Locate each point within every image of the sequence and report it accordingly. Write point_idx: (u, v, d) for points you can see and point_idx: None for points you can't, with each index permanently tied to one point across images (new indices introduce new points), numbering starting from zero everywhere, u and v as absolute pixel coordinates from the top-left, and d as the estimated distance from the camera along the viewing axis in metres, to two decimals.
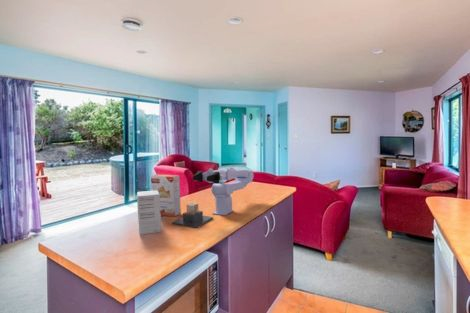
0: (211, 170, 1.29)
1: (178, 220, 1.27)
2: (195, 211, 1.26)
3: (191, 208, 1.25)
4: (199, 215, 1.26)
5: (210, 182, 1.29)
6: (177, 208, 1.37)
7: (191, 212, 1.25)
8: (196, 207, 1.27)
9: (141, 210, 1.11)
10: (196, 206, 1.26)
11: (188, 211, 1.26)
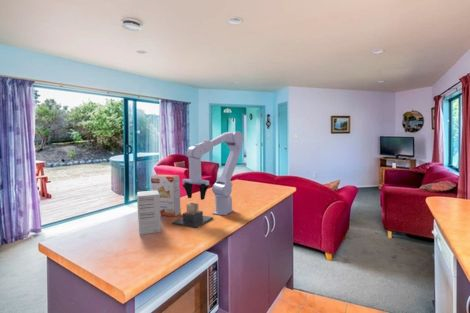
0: (192, 182, 1.26)
1: (178, 220, 1.27)
2: (195, 211, 1.26)
3: (191, 208, 1.25)
4: (199, 215, 1.26)
5: None
6: (177, 208, 1.37)
7: (191, 212, 1.25)
8: (196, 207, 1.27)
9: (141, 210, 1.11)
10: (196, 206, 1.26)
11: (188, 211, 1.26)
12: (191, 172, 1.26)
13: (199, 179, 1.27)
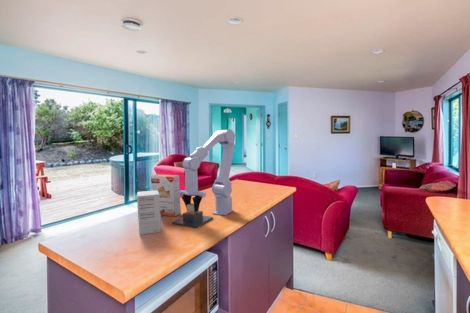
0: (188, 194, 1.23)
1: (178, 220, 1.27)
2: None
3: (191, 208, 1.25)
4: (199, 215, 1.26)
5: None
6: (177, 208, 1.37)
7: (191, 212, 1.25)
8: None
9: (141, 210, 1.11)
10: None
11: (188, 211, 1.26)
12: (187, 184, 1.24)
13: (195, 191, 1.25)
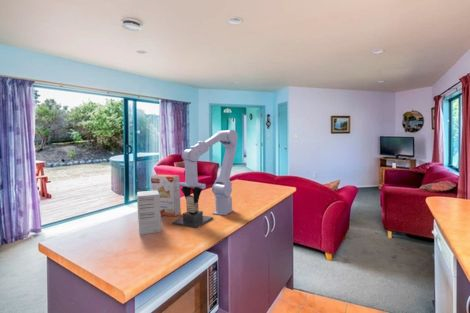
0: (188, 186, 1.23)
1: (178, 220, 1.27)
2: (195, 203, 1.26)
3: (190, 200, 1.25)
4: (199, 215, 1.26)
5: None
6: (177, 208, 1.37)
7: (191, 204, 1.25)
8: None
9: (141, 210, 1.11)
10: None
11: (188, 203, 1.26)
12: (187, 175, 1.23)
13: (195, 182, 1.24)
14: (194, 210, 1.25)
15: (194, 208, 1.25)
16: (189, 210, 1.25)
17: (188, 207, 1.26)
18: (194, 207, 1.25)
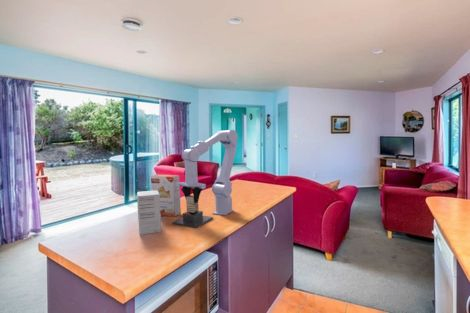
0: (188, 186, 1.23)
1: (178, 220, 1.27)
2: (195, 203, 1.26)
3: (190, 200, 1.25)
4: (199, 215, 1.26)
5: None
6: (177, 208, 1.37)
7: (191, 204, 1.25)
8: None
9: (141, 210, 1.11)
10: None
11: (188, 203, 1.26)
12: (187, 175, 1.23)
13: (195, 182, 1.24)
14: (194, 210, 1.25)
15: (194, 208, 1.25)
16: (189, 210, 1.25)
17: (188, 207, 1.26)
18: (194, 207, 1.25)
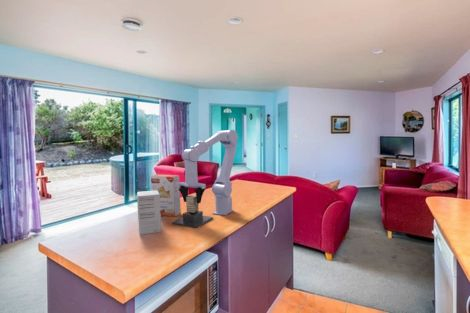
0: (188, 186, 1.23)
1: (178, 220, 1.27)
2: (195, 203, 1.26)
3: (190, 200, 1.25)
4: (199, 215, 1.26)
5: None
6: (177, 208, 1.37)
7: (191, 204, 1.25)
8: (196, 199, 1.26)
9: (141, 210, 1.11)
10: (196, 198, 1.26)
11: (188, 203, 1.26)
12: (187, 175, 1.23)
13: (195, 182, 1.24)
14: (194, 210, 1.25)
15: (194, 208, 1.25)
16: (189, 210, 1.25)
17: (188, 207, 1.26)
18: (194, 207, 1.25)
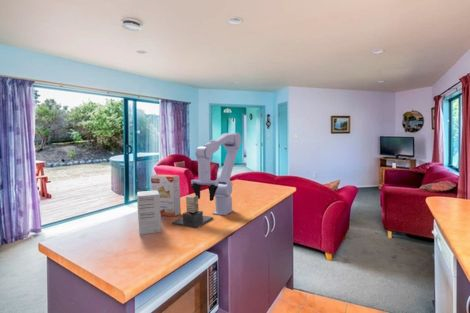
0: (201, 183, 1.24)
1: (178, 220, 1.27)
2: (195, 203, 1.26)
3: (190, 200, 1.25)
4: (199, 215, 1.26)
5: None
6: (177, 208, 1.37)
7: (191, 204, 1.25)
8: (196, 199, 1.26)
9: (141, 210, 1.11)
10: (196, 198, 1.26)
11: (188, 203, 1.26)
12: (200, 172, 1.24)
13: (208, 180, 1.25)
14: (194, 210, 1.25)
15: (194, 208, 1.25)
16: (189, 210, 1.25)
17: (188, 207, 1.26)
18: (194, 207, 1.25)
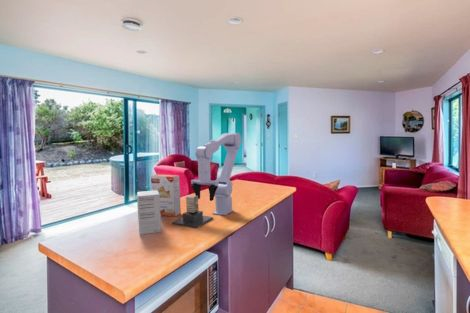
0: (201, 183, 1.24)
1: (178, 220, 1.27)
2: (195, 203, 1.26)
3: (190, 200, 1.25)
4: (199, 215, 1.26)
5: None
6: (177, 208, 1.37)
7: (191, 204, 1.25)
8: (196, 199, 1.26)
9: (141, 210, 1.11)
10: (196, 198, 1.26)
11: (188, 203, 1.26)
12: (200, 172, 1.24)
13: (208, 180, 1.25)
14: (194, 210, 1.25)
15: (194, 208, 1.25)
16: (189, 210, 1.25)
17: (188, 207, 1.26)
18: (194, 207, 1.25)
